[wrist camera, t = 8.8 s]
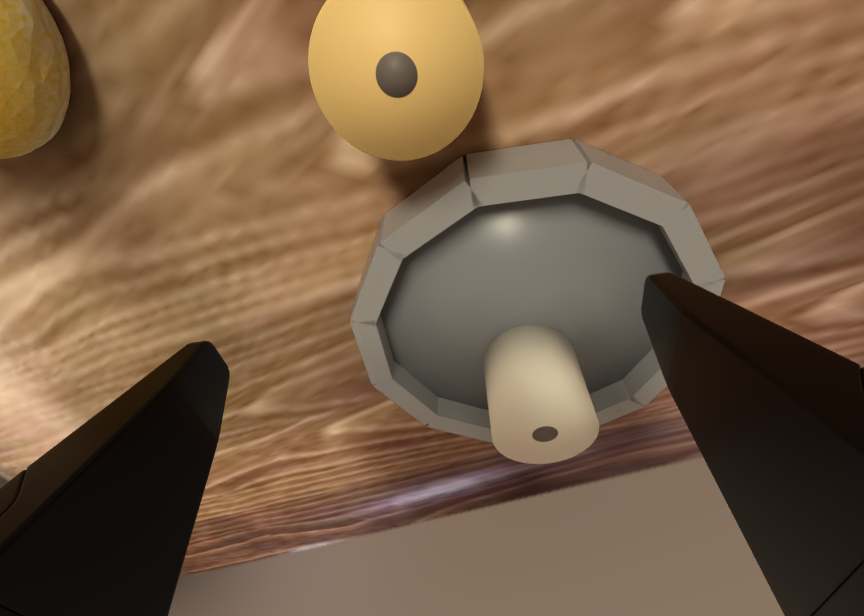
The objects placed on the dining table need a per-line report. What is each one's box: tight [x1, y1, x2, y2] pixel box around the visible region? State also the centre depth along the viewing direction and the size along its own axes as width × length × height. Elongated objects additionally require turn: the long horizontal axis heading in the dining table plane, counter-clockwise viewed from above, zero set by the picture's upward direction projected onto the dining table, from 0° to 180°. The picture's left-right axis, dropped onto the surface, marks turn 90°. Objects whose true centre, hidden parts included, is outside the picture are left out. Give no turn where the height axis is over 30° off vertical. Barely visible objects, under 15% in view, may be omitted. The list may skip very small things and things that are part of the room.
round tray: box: [350, 139, 725, 443], centre depth 24 cm, size 17×17×3 cm
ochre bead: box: [308, 0, 484, 161], centre depth 15 cm, size 5×5×5 cm
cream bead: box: [483, 325, 599, 464], centre depth 23 cm, size 5×5×5 cm
